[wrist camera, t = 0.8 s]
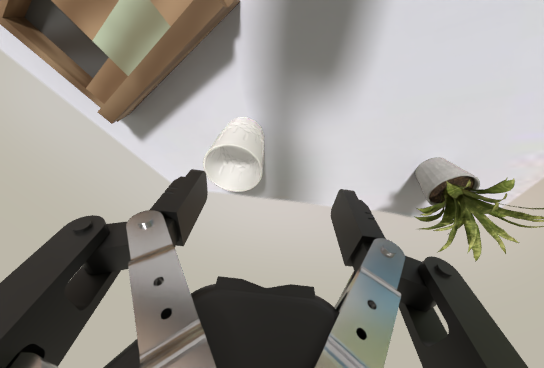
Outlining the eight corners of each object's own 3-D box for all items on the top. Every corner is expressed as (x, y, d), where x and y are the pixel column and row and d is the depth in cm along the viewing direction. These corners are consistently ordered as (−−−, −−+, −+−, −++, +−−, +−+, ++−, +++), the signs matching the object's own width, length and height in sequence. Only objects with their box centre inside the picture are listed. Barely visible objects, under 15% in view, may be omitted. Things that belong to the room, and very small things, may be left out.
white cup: (272, 150, 35) (269, 187, 28) (232, 158, 37) (218, 195, 29) (259, 107, 30) (251, 138, 23) (213, 119, 32) (191, 151, 24)
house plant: (439, 112, 29) (550, 182, 17) (505, 142, 32) (643, 223, 20) (375, 179, 38) (417, 258, 26) (430, 199, 41) (493, 279, 29)
